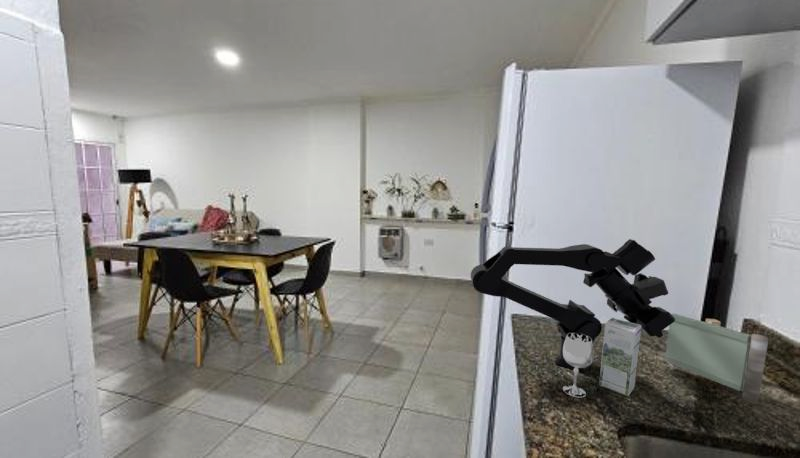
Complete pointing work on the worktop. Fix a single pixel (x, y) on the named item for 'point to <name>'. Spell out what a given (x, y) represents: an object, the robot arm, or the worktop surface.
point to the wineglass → (577, 359)
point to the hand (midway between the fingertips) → (660, 336)
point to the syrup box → (620, 356)
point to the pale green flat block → (708, 350)
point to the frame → (752, 366)
